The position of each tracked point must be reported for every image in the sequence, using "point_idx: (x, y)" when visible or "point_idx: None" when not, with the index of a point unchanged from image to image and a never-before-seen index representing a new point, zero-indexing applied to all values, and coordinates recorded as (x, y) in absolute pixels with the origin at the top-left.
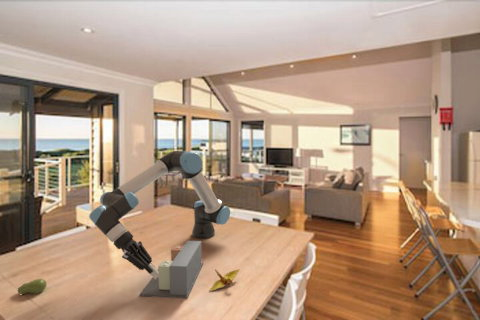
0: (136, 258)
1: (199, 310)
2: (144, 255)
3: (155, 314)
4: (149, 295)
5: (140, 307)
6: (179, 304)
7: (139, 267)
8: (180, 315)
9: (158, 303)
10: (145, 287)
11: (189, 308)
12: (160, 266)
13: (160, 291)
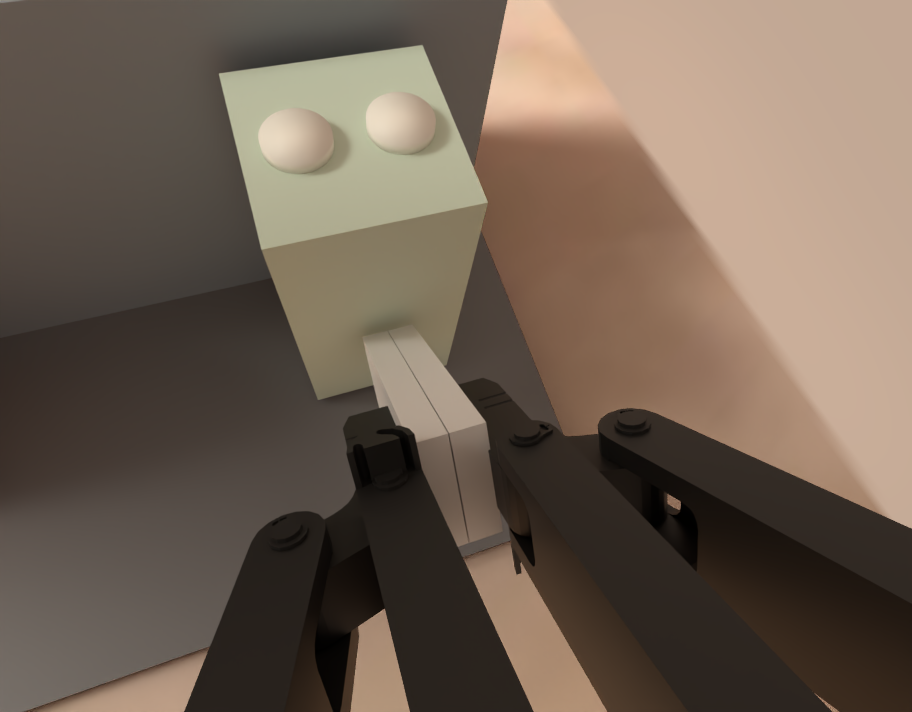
0: (886, 562)
1: (508, 13)
2: (438, 629)
3: (684, 225)
4: (549, 405)
5: (693, 379)
6: (514, 137)
7: (688, 508)
8: (603, 85)
9: (579, 278)
10: (464, 545)
11: (519, 67)
12: (475, 172)
13: (459, 340)
